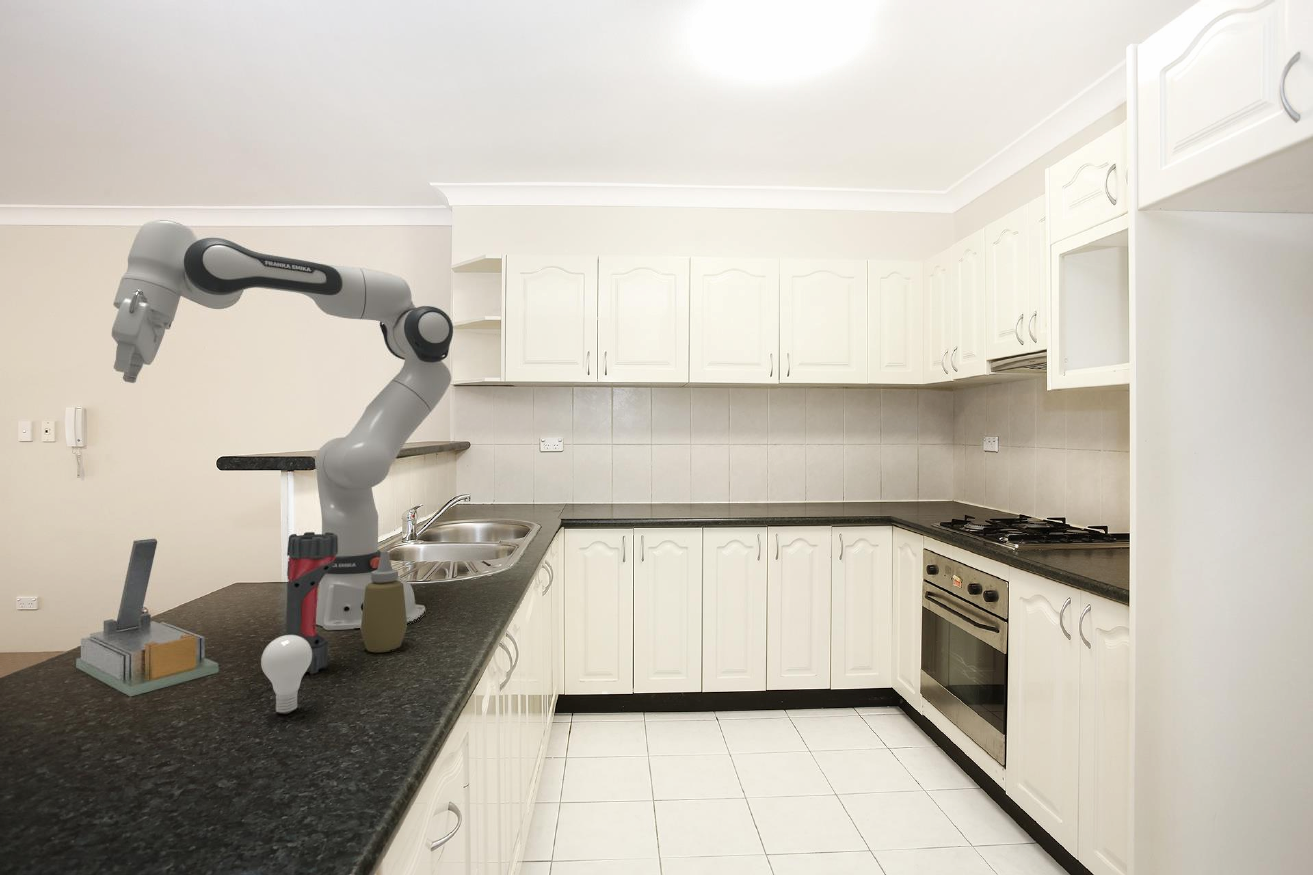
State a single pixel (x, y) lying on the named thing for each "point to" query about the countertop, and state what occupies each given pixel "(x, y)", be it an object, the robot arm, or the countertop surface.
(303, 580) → the flashlight
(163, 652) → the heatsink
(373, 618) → the squeeze bottle
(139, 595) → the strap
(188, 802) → the countertop surface
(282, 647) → the lightbulb
